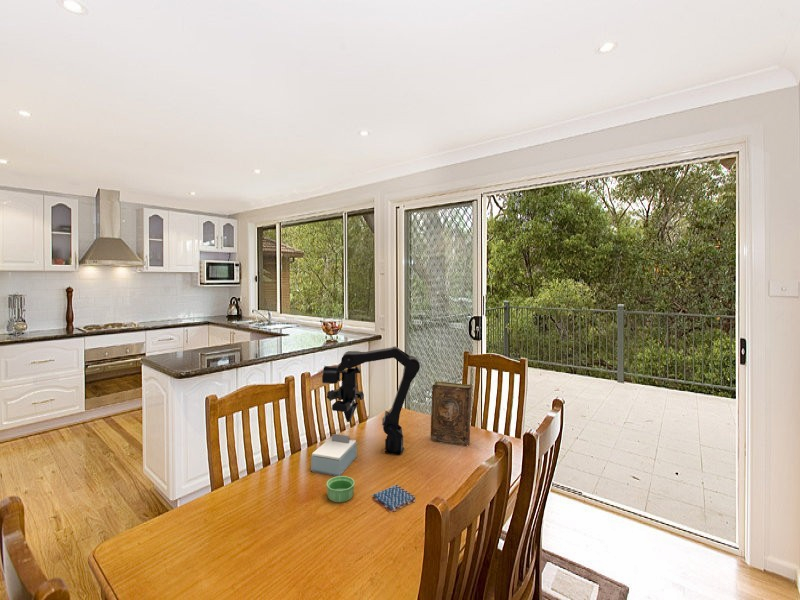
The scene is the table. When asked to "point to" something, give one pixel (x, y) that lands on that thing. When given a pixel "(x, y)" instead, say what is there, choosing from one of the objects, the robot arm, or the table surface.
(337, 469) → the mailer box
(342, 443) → the lid
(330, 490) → the ramekin
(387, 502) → the woven mat
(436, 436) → the book
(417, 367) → the robot arm
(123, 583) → the table surface
